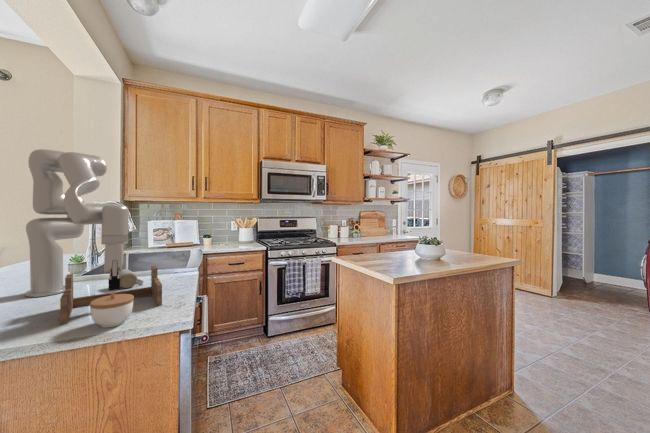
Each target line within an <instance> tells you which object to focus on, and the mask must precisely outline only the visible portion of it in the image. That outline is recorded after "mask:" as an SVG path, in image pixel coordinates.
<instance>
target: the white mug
mask: <svg viewBox="0 0 650 433" xmlns="http://www.w3.org/2000/svg"><path fill="white" fill-rule="evenodd" d="M119 271H120V270H119ZM119 278H120V288H122V289H131V288H133V287H134V286H135V285H140V286H141V284H142V285H143V284H144V283H145V281H144V280H141V279H139V278H138V276H137V275H136V274H135V272H133V271H131V269H127V268H122V271H120V272H119Z"/></svg>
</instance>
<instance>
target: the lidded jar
mask: <svg viewBox="0 0 650 433" xmlns="http://www.w3.org/2000/svg"><path fill="white" fill-rule="evenodd" d="M134 299H135V297H134V296H133V295H131V294H111V295H109V296H104V297H101V298H97V299H95V300H93V301H92V302H91V303H90V305H89V306H90V315H91V318H92V320H93V322H94V323H95V324H97V325H99V326H100V328H113V327H116V326H120V325H122V324H124V323H125V322H126V320H127V319H128V318H129V317H130V316H131V314H132V312H133V308H134Z"/></svg>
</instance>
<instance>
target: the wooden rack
mask: <svg viewBox="0 0 650 433" xmlns="http://www.w3.org/2000/svg"><path fill="white" fill-rule="evenodd" d="M150 267H151V268H150V272H151V273H150V280H151V281H150V283H151V284H150V285H151V286H146V287H141V288H135V289H126V290H120V291H114V292H107V293H101V294H100V293H99V294H93V295H86V296H81V297H80V296H79V297H74V274H73V273H69V274H66V276H65V278H64V286H65V291H64V292H62V295H61V297H60V299H59V302H60V303H59V304H60V306H59V307H60V312H59V313H60V314H59V315H60V325H65V324H68V322H69V321H70V320H69V319H70V317H71V314H72V311H73V308H79V307H86V306H90V303H91V302H92V301H93V300H95V299H97V298H101V297H104V296H109V295H111V294H131V295H133V296H134V298H139V297H145V296H152V298H153V300H154V303H155V305H156V307H160V306H163V284H162V282H161V280H160V279H159V278H158V266H156V265H151V266H150Z"/></svg>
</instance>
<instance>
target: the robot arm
mask: <svg viewBox="0 0 650 433" xmlns="http://www.w3.org/2000/svg"><path fill="white" fill-rule="evenodd" d="M28 168H29V172H30V174H31V177H32V186H33V187H32V210H33V211H34V212H35V213H36V214H39V215H47V216H49V215H53V216H54V215H58V216H59V215H66V217H38V218H33V219H31V220H29V221H28V222H27V223H26V225H25V232H26V236H27V240H28V244H29V270H30V271H29V272H30V275H29V277H30V284H29V285H30V286H29V287H30V289H29V290H27V291H26V292H24V296H25V297H27V298H39V297H41V298H42V297H46V296H53V295H58V294H63V293H64V291H65V285H64V251H63V248H62V246H61V245H59V243H58V242H56V241H59V240H68V239H70V240H71V239H78V238H79V237H81V236H82V235H83V233H84V229H85V225H86V226H87V225H101V231H100V232H101V234H100V235H101V237H100V238H101V242H100V244H101V245H104V253H103V254H104V260H103V261H104V262H103V264H104V266H103V267H104V268H103V269H104V272H103V273H105V274H107V272H109V273H108V274H109V278H108V291H116V290H120V288H121V287H120V278H119V272H120V271H122V269H123V264H124V253H125V252H124V251H125V250H124V247H125V244H128V243H129V208H128V206H126V205H117V204H112V203H90V202H89V203H85V200H84V198H83V197H82V196H84V195H88V194H90V193H93V192H95V191H96V190H97V189H98V188H99V187H100V184H101V182H100V180H99V178H98V177H102V176H104V175H105V174H106V173H107V170H108V168H107V163H106V161H105V160H104V159H103V158H102V157H100V156H97V155H92V154H86V153H81V152H75V151H73V152H72V151H69V152H64V151H59V150H54V149H52V150H51V149H45V148H44V149H41V148H39V149H35V150H34V149H33V150H32V151H31V153H30V154H29V156H28ZM57 173H62V174H63V175H64V177H65V179H66V181H67V183H68V184H69V187H68V189H67V190H66V191H65V192H64V191H63V190H64V189H63V188H64V182H63V180H62V178H61V177H60V176H59V175H58V174H57ZM119 270H120V271H119Z"/></svg>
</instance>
